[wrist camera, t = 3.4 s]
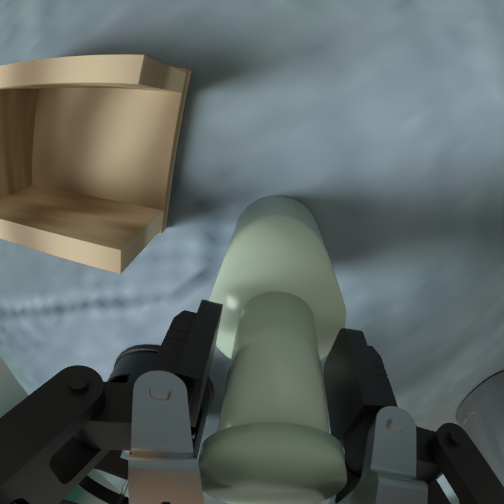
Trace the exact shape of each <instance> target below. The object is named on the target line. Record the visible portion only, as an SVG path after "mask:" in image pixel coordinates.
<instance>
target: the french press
mask: <svg viewBox="0 0 504 504" xmlns="http://www.w3.org/2000/svg"><path fill="white" fill-rule="evenodd" d="M159 349H160V347H159V346H154V345H139V346H133V347H131V348H128V349H126V350H125V351H123V352H122V353H121V354H120V355H119V356H118V358H117V359H116V362H115V365H114V370H113V372H112V373H111V375H110V377H109V379H108V381H107V382H116V383H128V382H133V381H136V380H137V379H138V378H139V377H140V376H141V375H143V374H144V373H147V372H149V370H150V369H151V367H152V364H153V362H154V360H155V358H156V355H157V353H158V351H159ZM127 375H130V377H129V379H128V378H127ZM213 395H214V390H213V386H212V383H211V381H210V379H209V377H208V378H207V382H206V386H205V390H204V394H203V398H202V402H201V406H200V410H199V414H198V418H197V422H196V426H195V427H192V426H190V427H191V436H195V437H194V440H193V438H192V444H193V451H194V455H196V457H198V453H199V448H200V443H201V439H202V434H203V430H204V425H205V421H206V416H207V412H208V408H209V406H210V405H211V403H212V400H213ZM122 451H125V450H110V451H109V452H108V453H107V454H106V455H105V456H104V457H103V458H102V460H101V461H100V462H99V463H98V464H97V465H96V466H95V467H94V469H98V470H101V471H104V472H107V473H110V474H112V475H115V476H118V477H120V478H123V479H125V481H124V484H123V487H122V490H121V493H120V494H118V493H116V492H113V491H111V490H109V489H107V488H105V487H104V486H102V485H100V484H99V483H97V482H95V481H94V480H93V479H91V478H90V477H88V476H87V475H86V476H85V477H84V478H83V480H82V481H81V482H80V483H79V484H78V486H79V487H81V488H82V489H84V490H85V491H87V492H88V493H90V494H91V495H93V496H95V497H96V498H98V499H100V500H102V501H104V502H106V503H108V504H129V498H128V497H125V493H126V490H127V487H128V460H125V459H123V458H120V456H121V454H122ZM125 452H126V453H128V454H129V453H130V452H131V451H125ZM59 504H77V503H74V502H72V501H69V500H64V499H63V500H62V501H61V502H60V503H59Z"/></svg>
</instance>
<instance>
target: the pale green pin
mask: <svg viewBox="0 0 504 504" xmlns="http://www.w3.org/2000/svg"><path fill="white" fill-rule="evenodd" d="M209 301H211V302H215V303H220V304H223V309H222V314H221V319H220V324H219V330H218V335H217V340H216V346H217V347H218V348H219V349H220V351H221V352H222V353H224V354H225V355H226V356H227V357H228V358H230V359H231V361H230V366H229V372H228V377H227V382H226V387H225V393H224V398H223V403H222V409H221V414H220V419H219V425H218V430H217V432H216V433H214V434H212V435H211V436H209V437H208V438H207V439H206V440H205V441H204V443H203V444H202V447H201V450H200V455H199V459H198V465H199V471H200V478H201V484H202V490H203V491H204V492H205V493H207V494H208V495H210V496H212V497H214V498H216V499H218V500H221V501H223V502H226V503H230V504H316V503H319V502H322V501H324V500H327V499H329V498H331V497H333V496H334V495H336V494H337V493H339V492H340V491H341V490H342V489H343V488H344V487H345V485H346V483H347V473H346V465H345V457H344V449H343V446H342V444H341V443H340V442H339V440H338V439H336V438H335V437H334V436H332V435H331V434H329V428H328V419H327V410H326V402H325V394H324V386H323V378H322V370H321V363H320V360H321V359H323V358H324V357H325V356H327V355H328V354H329V352H330V350H331V348H332V346H333V344H334V341H335V339H336V337H337V335H338V333H339V331H340V329H342V328H345V324H346V309H345V304H344V301H343V297H342V294H341V291H340V288H339V285H338V282H337V279H336V276H335V273H334V270H333V267H332V264H331V261H330V259H329V256H328V253H327V250H326V247H325V244H324V242H323V239H322V236H321V233H320V230H319V228H318V225H317V222H316V220H315V218H314V216H313V214H312V213H311V212H310V210H309V209H308V208H307V207H306V206H305V205H303V204H302V203H300V202H299V201H297V200H295V199H293V198H289V197H285V196H269V197H264V198H262V199H259V200H257V201H255V202H253V203H252V204H251V205H249V206H248V207H247V208H246V209H245V210H244V211H243V213H242V214H241V216H240V218H239V220H238V222H237V225H236V227H235V230H234V233H233V236H232V238H231V241H230V244H229V246H228V249H227V252H226V255H225V257H224V260H223V263H222V266H221V269H220V271H219V274H218V277H217V280H216V282H215V285H214V288H213V291H212V294H211V297H210V299H209Z"/></svg>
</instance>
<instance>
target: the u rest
mask: <svg viewBox="0 0 504 504" xmlns="http://www.w3.org/2000/svg"><path fill="white" fill-rule="evenodd" d="M191 72H192V71H191V70H189V69H187V68H177V67H171V66H169V65H167V64H164V63H162V62H160V61H158V60H155V59H153V58H151V57H148V56H146V55H86V56H70V57H59V58H49V59H41V60H33V61H26V62H19V63H13V64H8V65H2V66H0V238H1V239H4V240H7V241H10V242H13V243H16V244H19V245H22V246H25V247H29V248H32V249H35V250H38V251H41V252H45V253H48V254H51V255H55V256H58V257H61V258H65V259H68V260H72V261H75V262H79V263H82V264H86V265H89V266H93V267H96V268H100V269H104V270H107V271H111V272H115V273H118V274H121V273H122V272H123V271H124V270H125V268H126V267H127V266H128V265H129V264H130V263H131V262H132V261H133V260H134V258H135V257H136V256H137V255H138V254H139V253H140V252H141V251H142V250H143V249H144V248H145V246H146V245H147V244H148V243H149V242H150V241H151V240H152V239H153V238H154V237H155V236H156V235H157V234H158V233H162V232H163V231H164V230H165V229H166V228H167V220H168V211H169V203H170V195H171V187H172V180H173V173H174V166H175V159H176V153H177V146H178V140H179V134H180V129H181V123H182V117H183V112H184V107H185V101H186V96H187V91H188V86H189V82H190V77H191Z"/></svg>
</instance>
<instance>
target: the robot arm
mask: <svg viewBox="0 0 504 504" xmlns="http://www.w3.org/2000/svg"><path fill="white" fill-rule="evenodd" d="M222 309H223V304H220V303H215V302H211V301H207V300H202V301H201V304H200V307H199V309H198V312H197V313H194V312H190V311H185V310H184V311H182V312H181V313H180V314H178V315H177V316H176V317H174V319H173V321H172V323H171V325H170V327H169V330H168V332H167V334H166V336H165V338H164V340H163V342H162V345H161V347H160V349H159V351H158V353H157V355H156V358H155V360H154V362H153V364H152V367H151V369H150V370H149V372H147V373H144V374H143V375H141V376H140V377H139V378H138V379H137V380H136V381H133V382H128V383H116V382H103V380H102V378H101V376H100V375H99V374H98V373H97V372H96V371H95V370H93V369H92V368H89V367H86V366H80V365H77V366H70V367H67V368H65V369H63V370H62V371H60V372H59V373H58V374H56V375H55V376H54V377H52V378H51V379H50V380H48V381H47V382H46V383H45V384H43V385H42V386H41V387H39V388H38V389H37V390H36V391H34V392H33V393H32V394H30V395H29V396H28V397H27V398H25V399H24V400H23V401H22V402H20V403H19V404H18V405H16V406H15V407H14V408H12V409H11V410H10V411H9V412H7V413H6V414H5V415H4V416H2V417H1V418H0V504H59V503H60V502H61V501H62V500H63V499H64V498H65V497H66V496H67V495H68V494H69V493H70V492H71V491H72V490H73V489H74V488H75V487H76V486H77V485H78V484H79V483H80V482H81V481H82V480H83V478H84V477H85V476H86V475H87V474H88V473H89V472H90V471H91V470H92V469H93V468H94V467H95V466H96V465H97V464H98V463H99V462H100V461H101V460H102V458H103V457H104V456H105V455H106V454H107V453H108V452H109V451H110V450H125V451H131V452H130V453H129V458H128V492H129V504H205V502H204V496H203V490H202V484H201V478H200V471H199V465H198V460H197V457H196V455H194V451H193V444H192V436H191V427H190V426H192V427H195V426H196V422H197V418H198V414H199V410H200V406H201V402H202V398H203V394H204V390H205V386H206V382H207V378H208V374H209V370H210V366H211V362H212V358H213V354H214V350H215V345H216V340H217V335H218V330H219V324H220V319H221V314H222ZM324 381H325V388H326V396H327V404H328V412H329V420H330V428H331V435H332V436H334V437H335V438H336V439H338V440H339V442H340V443H341V444H342V446H343V448H344V450H345V454H344V457H345V465H346V473H347V483H346V485H345V487H344V488H343V489H342V490H341V491H340V492H339V493H337V494H336V495H334V496H333V497H331V498H330V501H329V504H451V503H450V502H449V500H448V498H447V497H446V495H445V493H444V492H443V490H442V488H441V487H440V485H439V484H438V482H437V480H436V479H438V478H439V477H440V476H441V475H442V474H444V476H445V477H446V479H447V481H448V482H449V484H450V486H451V487H452V489H453V490H454V492H455V494H456V495H457V497H458V499H459V504H504V371H503V372H501V373H498V374H496V375H495V376H493V377H491V378H489V379H488V380H486V381H485V382H483V383H482V384H481V385H480V386H478V387H477V388H476V389H475V390H474V391H473V392H472V393H471V394H470V395H469V396H468V397H467V398H466V399H465V400H464V401H463V403H462V404H461V406H460V407H459V409H458V411H457V415H456V419H457V422H458V424H459V426H458V425H456V424H453V423H446V424H443V425H442V426H441V427H440V428H439V429H438V430H437V431H436V432H434V431H430V430H427V429H423V428H420V427H417V426H416V424H415V421H414V419H413V418H412V416H411V415H410V414H409V413H408V412H406V411H405V410H403V409H401V408H399V407H397V403H396V400H395V397H394V394H393V391H392V388H391V385H390V382H389V379H388V378H387V373H386V370H385V369H384V365H383V362H382V359H381V356H380V355H379V354H378V353H377V351H376V350H375V349H374V348H373V347H372V346H367V343H366V340H365V337H364V334H363V332H362V331H358V330H352V329H346V328H342V329H340V331H339V333H338V335H337V337H336V339H335V341H334V344H333V346H332V348H331V350H330V352H329V354H328V357H327V359H326V361H325V365H324Z"/></svg>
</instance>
